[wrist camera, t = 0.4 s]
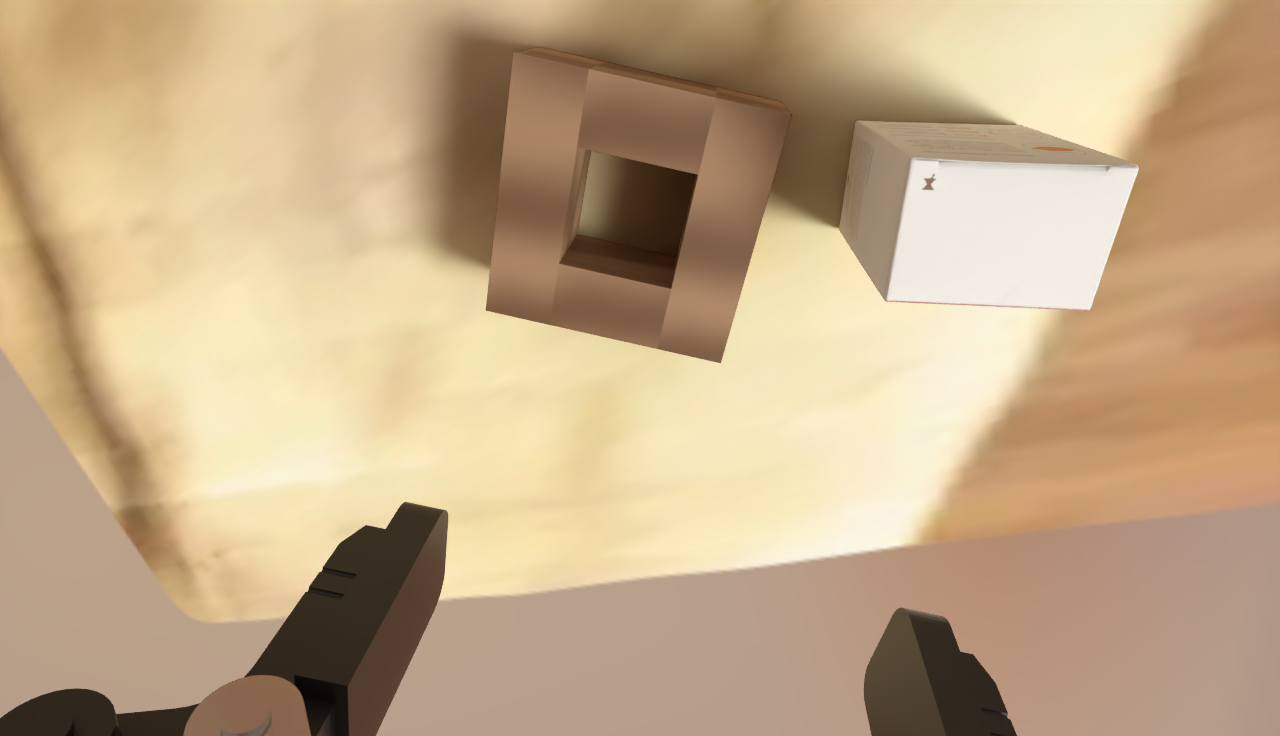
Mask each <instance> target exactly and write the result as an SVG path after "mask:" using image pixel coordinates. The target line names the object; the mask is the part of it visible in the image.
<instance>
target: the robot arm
mask: <svg viewBox="0 0 1280 736" xmlns="http://www.w3.org/2000/svg"><path fill="white" fill-rule="evenodd" d="M447 528H448V513H447V511H446V510H441V509H437V508H432V507H427V506H422V505H418V504H413V503H408V502H404V503H403V504H402V505H401V506H400V507H399V509H398V510H397V512H396V514H395V515H394V517H393V518H392V520H391V522H390V523H389V525H388V526H387V528H386V529H382V528H377V527H372V526H367V525H366V526H364V527H363V528H361V529H360V530H358V531H357V532H355V533H354V534H352V535H351V536H350V537H348V538H347V539H345V540H344V541H342V542H341V543H340V544H339V545H338V546H337V548H336V549H335V551H334V552H333V554H332V555H331V556H330V558H329V559H328V561H327V562H326V564H325V565H324V566H323V570H322V572H319V574H318V575H317V576H316V578H315V579H314V581H313V582H312V584H311V585H310V586H309V590H308V592H305V594H304V595H303V596H302V598H301V599H300V601H299V602H298V604H297V605H296V606H295V608H294V609H293V611H292V612H291V614H290V615H289V616H288V618H287V619H286V621H285V622H284V624H283V625H282V627H281V628H280V630H279V631H278V632H277V634H276V635H275V637H274V638H273V639H272V641H271V642H270V644H269V645H268V647H267V648H266V649H265V651H264V652H263V654H262V655H261V657H260V658H259V659H258V661H257V662H256V664H255V665H254V666H253V668H252V669H251V670H250V671H249V673H248V674H247V675H246V676H245V677H244V678H241V679H238V680H235V681H232V682H230V683H228V684H226V685H224V686H222V687H220V688H218V689H217V690H215V691H214V692H212V693H211V694H210V695H209V696H207V697H206V698H205V699H204V700H203V701H202V702H201V703H199V704H196V705H192V706H188V707H182V708H176V709H166V710H155V711H145V712H135V713H125V714H116V713H115V710H114V706H113V704H112V703H111V701H110V700H109V699H108V698H107V697H105V696H104V695H103V694H100V693H98V692H96V691H92V690H88V689H65V690H60V691H55V692H51V693H48V694H45V695H41V696H39V697H36V698H34V699H31V700H29V701H27V702H25V703H23V704H21V705H19V706H18V707H16V708H14V709H13V710H11V711H10V712H8V713H7V714H5V715H4V716H3V717H2V718H0V736H376V734H377V732H378V729H379V727H380V725H381V723H382V721H383V719H384V717H385V714H386V712H387V710H388V708H389V706H390V704H391V702H392V700H393V697H394V695H395V693H396V691H397V689H398V687H399V685H400V682H401V680H402V678H403V676H404V674H405V671H406V670H407V667H408V665H409V663H410V661H411V659H412V657H413V654H414V653H415V650H416V648H417V646H418V644H419V642H420V640H421V638H422V635H423V633H424V631H425V629H426V627H427V625H428V623H429V620H430V618H431V616H432V614H433V612H434V610H435V607H436V605H437V602H438V599H439V596H440V593H441V589H442V585H443V580H444V573H445V559H446V543H447ZM864 700H865V705H866V710H867V715H868V720H869V724H870V730H871V734H872V736H1017V735H1016V732H1015V730H1014V727H1013V725H1012V723H1011V720H1010V719H1008V718H1007V714H1008V713H1007V710H1006V708H1005V705H1004V703H1003V700H1002V698H1001V695H1000V693H999V691H998V688H997V686H996V683H995V682H994V681H993V679H992V678H991V677H990V675H989V674H988V673H987V672H986V671H985V669H984V668H983V667H982V665H980V663H979V661H978V660H977V659H976V658H975V656H974V655H973V654H968V653H963V652H960V650H959V647H958V645H957V642H956V639H955V636H954V634H953V631H952V628H951V626H950V624H949V622H948V620H947V619H946V618H945V617H943V616H938V615H934V614H929V613H924V612H919V611H914V610H910V609H904V608H899V609H897V610H896V611H895V612H894V614H893V616H892V618H891V620H890V622H889V624H888V626H887V628H886V630H885V632H884V634H883V636H882V638H881V640H880V642H879V644H878V646H877V648H876V650H875V652H874V654H873V656H872V658H871V660H870V662H869V664H868V666H867V669H866V674H865V681H864Z"/></svg>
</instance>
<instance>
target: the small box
mask: <svg viewBox="0 0 1280 736" xmlns="http://www.w3.org/2000/svg"><path fill="white" fill-rule="evenodd" d="M1138 169H1139V167H1138V166H1137V165H1136V164H1134V163H1131V162H1128V161H1125V160H1123V159H1120V158H1117V157H1114V156H1111V155H1108V154H1105V153H1102V152H1099V151H1096V150H1093V149H1090V148H1087V147H1084V146H1081V145H1078V144H1075V143H1072V142H1069V141H1066V140H1063V139H1060V138H1057V137H1054V136H1051V135H1048V134H1045V133H1042V132H1040V131H1037V130H1034V129H1031V128H1028V127H1025V126H1022V125H991V124H957V123H921V122H885V121H861V120H858V121H856V122H855V128H854V135H853V141H852V147H851V154H850V161H849V167H848V174H847V180H846V186H845V193H844V200H843V206H842V213H841V220H840V226H839V230H840V232H841V233H842V235H843V237H844V238H845V240H846V241H847V243H848V245H849V246H850V248H851V249H852V251H853V252H854V254H855V255H856V257H857V258H858V260H859V262H860V263H861V265H862V266H863V268H864V269H865V271H866V272H867V274H868V276H869V277H870V279H871V280H872V282H873V283H874V285H875V286H876V288H877V289H878V291H879V293H880V294H881V296H882V297H883V298H884V300H885V301H886V302H908V303H931V304H952V305H976V306H997V307H1021V308H1041V309H1062V310H1082V311H1089V310H1090V308H1091V306H1092V302H1093V299H1094V297H1095V294H1096V291H1097V288H1098V285H1099V282H1100V279H1101V276H1102V273H1103V270H1104V267H1105V265H1106V262H1107V259H1108V256H1109V253H1110V250H1111V247H1112V244H1113V242H1114V239H1115V236H1116V233H1117V230H1118V227H1119V224H1120V221H1121V218H1122V216H1123V213H1124V210H1125V207H1126V204H1127V201H1128V198H1129V195H1130V193H1131V190H1132V187H1133V184H1134V181H1135V178H1136V175H1137V173H1138Z"/></svg>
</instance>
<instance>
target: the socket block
mask: <svg viewBox="0 0 1280 736" xmlns="http://www.w3.org/2000/svg"><path fill="white" fill-rule="evenodd" d="M791 116H792V114H791V113H790V112H789V111H788V109H787V108H786V107H785V105H784V104H783V103H782V102H781V101H776V100H772V99H767V98H763V97H758V96H754V95H750V94H745V93H741V92H736V91H732V90H728V89H723V88H719V87H714V86H710V85H706V84H701V83H697V82H692V81H688V80H684V79H679V78H675V77H670V76H666V75H661V74H657V73H653V72H648V71H644V70H639V69H635V68H631V67H626V66H622V65H617V64H613V63H609V62H604V61H600V60H595V59H591V58H586V57H582V56H578V55H573V54H569V53H564V52H560V51H556V50H551V49H547V48H542V47H537V48H531V49H526V50H521V51H515V52H513V60H512V69H511V78H510V88H509V97H508V107H507V116H506V125H505V135H504V144H503V154H502V163H501V172H500V182H499V191H498V201H497V210H496V220H495V229H494V238H493V248H492V257H491V267H490V276H489V285H488V295H487V304H486V311H491V312H495V313H500V314H504V315H509V316H513V317H517V318H522V319H526V320H531V321H535V322H540V323H544V324H549V325H553V326H558V327H562V328H567V329H571V330H575V331H580V332H584V333H589V334H593V335H598V336H602V337H607V338H611V339H616V340H620V341H624V342H629V343H633V344H638V345H642V346H647V347H651V348H656V349H660V350H665V351H669V352H674V353H678V354H682V355H687V356H691V357H696V358H700V359H705V360H709V361H714V362H718V363H721V360H722V357H723V353H724V350H725V346H726V343H727V339H728V336H729V332H730V329H731V325H732V322H733V318H734V315H735V311H736V308H737V305H738V301H739V298H740V294H741V291H742V287H743V284H744V280H745V277H746V273H747V270H748V266H749V263H750V259H751V256H752V252H753V249H754V245H755V242H756V238H757V235H758V231H759V228H760V224H761V221H762V217H763V214H764V211H765V207H766V204H767V200H768V197H769V193H770V190H771V186H772V183H773V179H774V176H775V172H776V169H777V165H778V162H779V158H780V155H781V151H782V148H783V144H784V141H785V137H786V134H787V130H788V127H789V123H790V120H791ZM591 151H596V152H600V153H605V154H609V155H613V156H618V157H622V158H627V159H631V160H635V161H640V162H644V163H649V164H653V165H658V166H662V167H666V168H671V169H675V170H680V171H684V172H689V173H693V174H696V176H695V180H694V184H693V189H692V193H691V197H690V201H689V206H688V210H687V214H686V218H685V223H684V227H683V231H682V235H681V240H680V244H679V248H678V252H677V257H675V256H671V255H666V254H662V253H657V252H653V251H648V250H644V249H640V248H635V247H631V246H626V245H622V244H617V243H613V242H608V241H604V240H600V239H595V238H591V237H586V236H582V235H577V233H578V227H579V221H580V214H581V208H582V202H583V196H584V190H585V184H586V178H587V172H588V166H589V159H590V153H591Z"/></svg>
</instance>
